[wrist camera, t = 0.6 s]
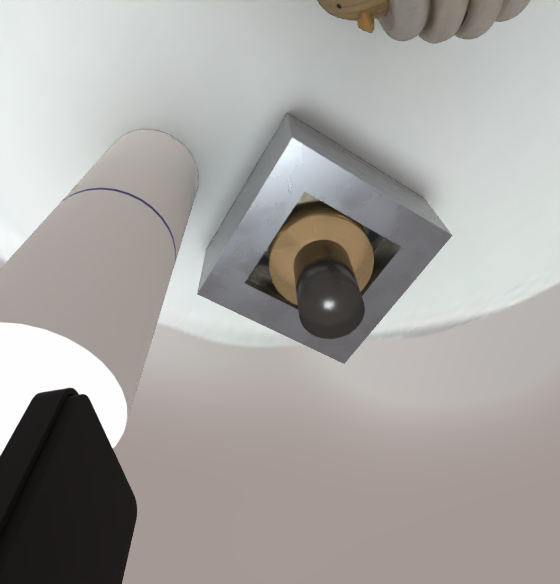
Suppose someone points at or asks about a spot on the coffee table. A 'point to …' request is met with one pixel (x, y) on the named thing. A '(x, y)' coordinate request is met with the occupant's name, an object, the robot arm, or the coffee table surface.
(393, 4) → the toy sheep
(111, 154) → the cylindrical container
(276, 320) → the block
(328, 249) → the stepped cylindrical shaft
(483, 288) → the coffee table surface
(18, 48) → the coffee table surface
